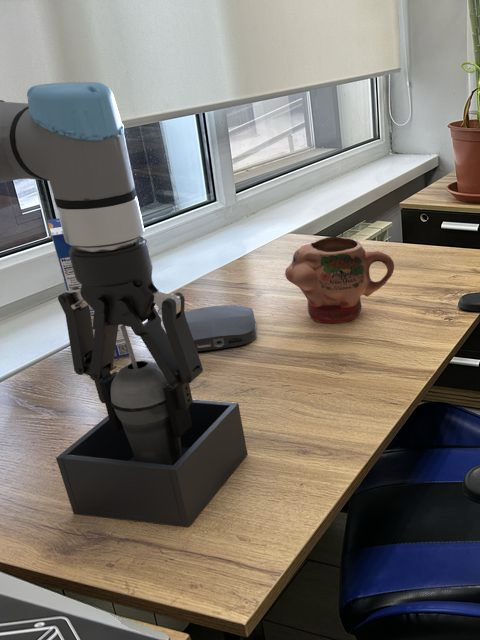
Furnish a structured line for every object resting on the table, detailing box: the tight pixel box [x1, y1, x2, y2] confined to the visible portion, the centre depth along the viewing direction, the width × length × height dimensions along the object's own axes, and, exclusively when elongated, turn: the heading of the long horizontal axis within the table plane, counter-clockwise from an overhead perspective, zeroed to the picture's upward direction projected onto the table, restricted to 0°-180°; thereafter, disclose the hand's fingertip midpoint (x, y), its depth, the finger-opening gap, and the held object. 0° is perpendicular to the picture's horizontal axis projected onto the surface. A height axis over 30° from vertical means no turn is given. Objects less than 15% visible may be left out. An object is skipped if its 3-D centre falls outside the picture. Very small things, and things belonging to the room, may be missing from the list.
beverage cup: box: [111, 325, 183, 465], centre depth 82 cm, size 7×7×20 cm
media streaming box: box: [184, 304, 257, 353], centre depth 126 cm, size 15×15×3 cm
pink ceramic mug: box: [284, 235, 395, 324], centre depth 132 cm, size 20×12×14 cm, turn 103°
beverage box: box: [46, 217, 130, 360], centre depth 118 cm, size 7×11×22 cm, turn 32°
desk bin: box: [55, 398, 248, 528], centre depth 85 cm, size 15×15×8 cm
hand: (152, 428), depth 84 cm, fingers closed on beverage cup, 7 cm apart
